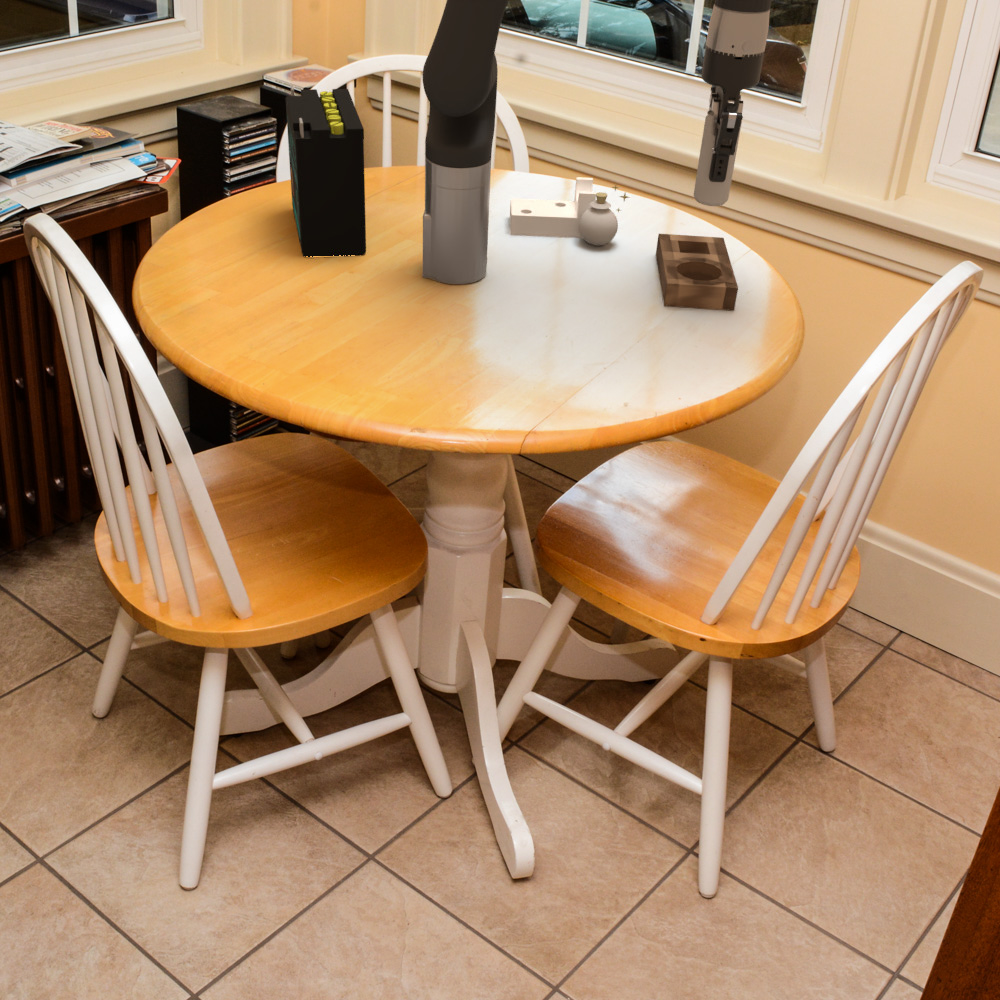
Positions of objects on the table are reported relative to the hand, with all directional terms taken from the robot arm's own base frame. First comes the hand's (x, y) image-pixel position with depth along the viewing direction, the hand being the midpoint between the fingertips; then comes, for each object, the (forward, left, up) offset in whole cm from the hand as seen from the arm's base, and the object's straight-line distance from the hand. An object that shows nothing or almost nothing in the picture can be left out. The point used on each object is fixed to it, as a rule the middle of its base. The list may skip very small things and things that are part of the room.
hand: (714, 173), depth 153 cm
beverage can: (0, 0, -4) cm, 4 cm away
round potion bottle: (-13, +16, -18) cm, 28 cm away
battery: (-56, +14, -18) cm, 61 cm away
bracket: (-21, +21, -18) cm, 35 cm away
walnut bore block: (0, +4, -18) cm, 18 cm away
